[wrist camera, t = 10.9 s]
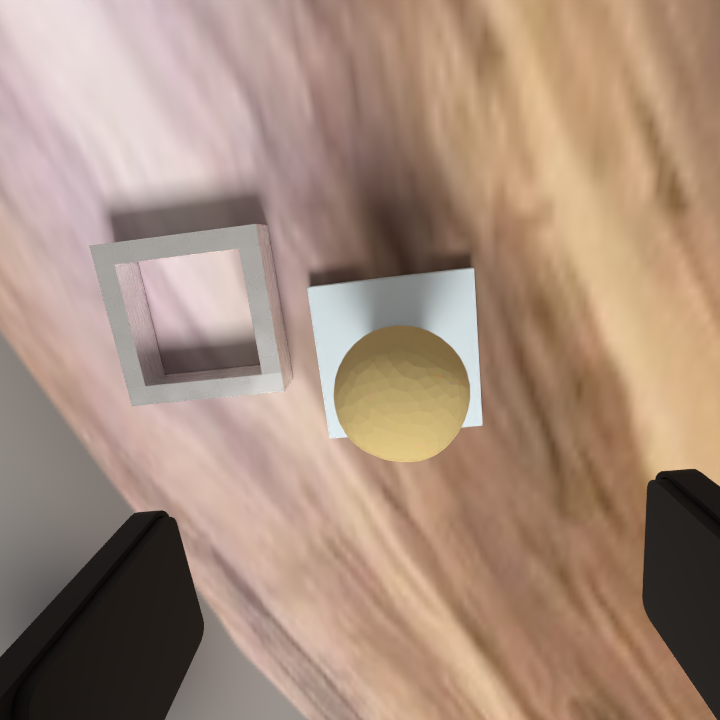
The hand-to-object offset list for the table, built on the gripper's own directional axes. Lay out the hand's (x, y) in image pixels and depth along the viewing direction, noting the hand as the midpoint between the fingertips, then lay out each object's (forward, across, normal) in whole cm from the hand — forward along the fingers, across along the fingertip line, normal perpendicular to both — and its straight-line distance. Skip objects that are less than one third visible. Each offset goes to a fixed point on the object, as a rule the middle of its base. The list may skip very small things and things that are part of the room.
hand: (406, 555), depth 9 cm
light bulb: (+20, 0, +1) cm, 20 cm away
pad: (+20, 0, +1) cm, 20 cm away
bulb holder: (+20, +12, -3) cm, 24 cm away
